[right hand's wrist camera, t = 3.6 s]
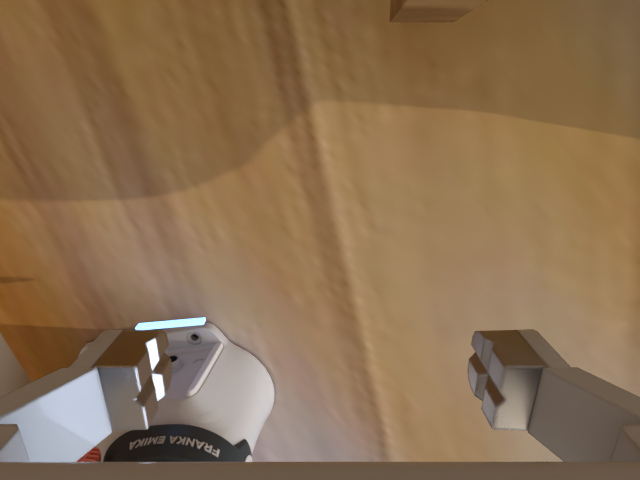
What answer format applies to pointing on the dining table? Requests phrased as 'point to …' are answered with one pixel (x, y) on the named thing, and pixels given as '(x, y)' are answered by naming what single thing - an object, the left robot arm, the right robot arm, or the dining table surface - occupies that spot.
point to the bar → (431, 10)
